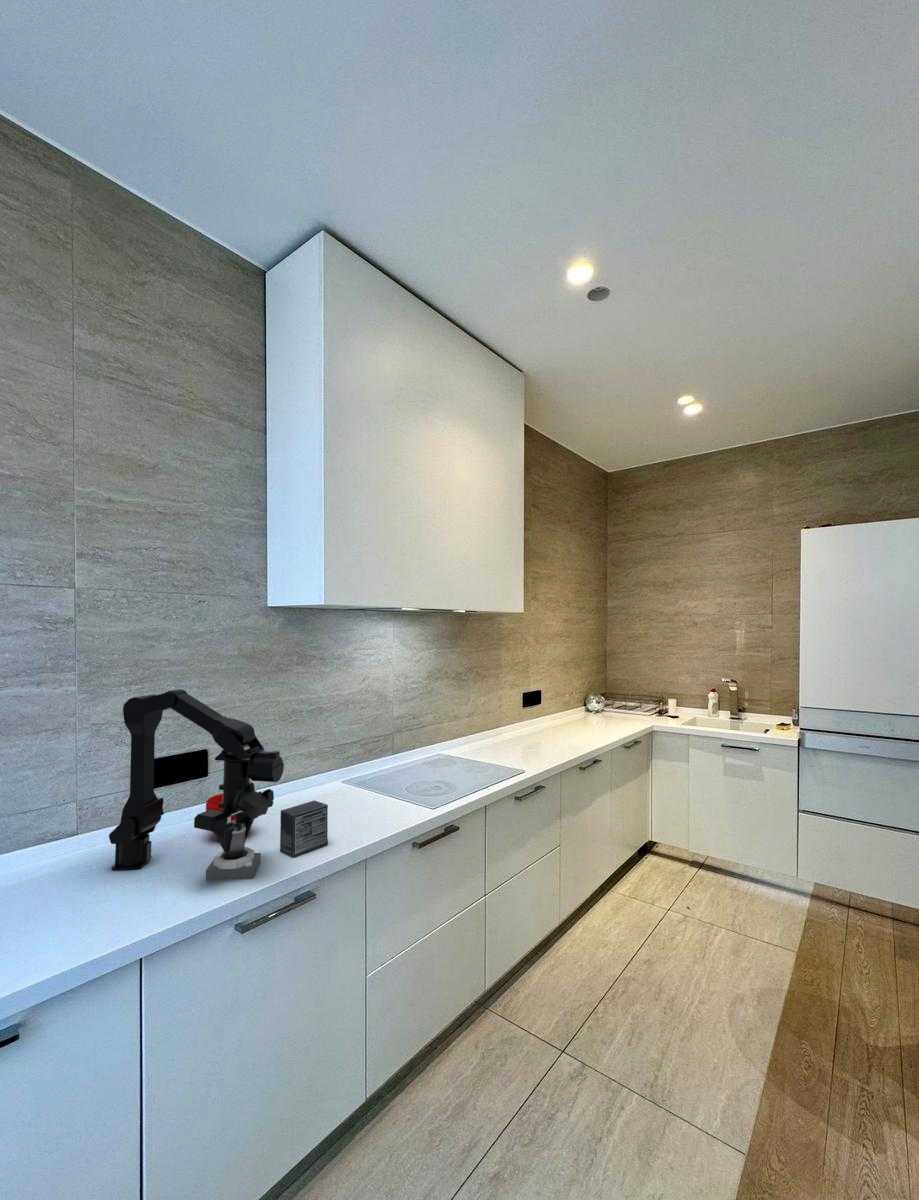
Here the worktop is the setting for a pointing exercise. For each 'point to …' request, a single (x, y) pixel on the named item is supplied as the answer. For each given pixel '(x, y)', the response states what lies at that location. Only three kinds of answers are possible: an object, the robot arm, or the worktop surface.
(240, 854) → the lens
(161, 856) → the worktop surface
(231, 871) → the camera body mount
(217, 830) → the robot arm
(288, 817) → the small box
